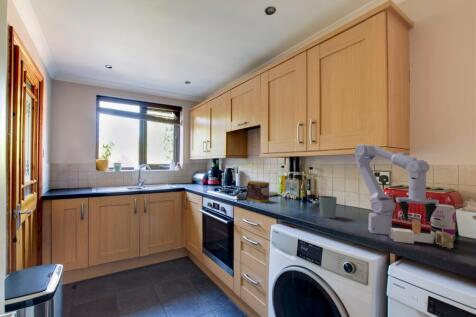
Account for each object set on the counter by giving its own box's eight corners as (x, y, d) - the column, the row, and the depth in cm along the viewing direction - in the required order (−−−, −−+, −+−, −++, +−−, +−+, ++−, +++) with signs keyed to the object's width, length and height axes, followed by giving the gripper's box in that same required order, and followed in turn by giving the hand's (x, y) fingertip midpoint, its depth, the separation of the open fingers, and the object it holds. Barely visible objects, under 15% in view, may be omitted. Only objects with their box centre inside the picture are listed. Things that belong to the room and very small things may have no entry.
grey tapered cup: (337, 219, 136) (338, 198, 136) (319, 218, 138) (320, 197, 138) (334, 215, 146) (334, 196, 146) (317, 214, 148) (317, 195, 148)
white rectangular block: (394, 241, 100) (394, 230, 100) (391, 238, 105) (391, 227, 105) (413, 243, 98) (414, 232, 98) (409, 240, 102) (410, 229, 102)
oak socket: (442, 247, 94) (442, 235, 94) (435, 242, 100) (435, 230, 100) (452, 248, 93) (453, 236, 93) (445, 243, 99) (445, 231, 99)
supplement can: (454, 239, 106) (455, 205, 106) (455, 243, 99) (455, 208, 100) (431, 234, 111) (431, 203, 111) (430, 238, 105) (430, 205, 105)
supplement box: (260, 202, 184) (261, 182, 184) (246, 199, 195) (247, 181, 195) (269, 201, 191) (269, 182, 191) (255, 198, 202) (255, 180, 202)
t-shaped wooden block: (391, 238, 101) (391, 219, 101) (389, 236, 104) (389, 217, 104) (433, 243, 96) (433, 223, 97) (430, 241, 99) (430, 221, 99)
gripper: (400, 188, 98) (399, 220, 98) (442, 190, 94) (442, 224, 94) (395, 186, 105) (394, 217, 105) (434, 188, 100) (434, 220, 100)
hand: (416, 220), depth 100 cm, fingers open, 7 cm apart
